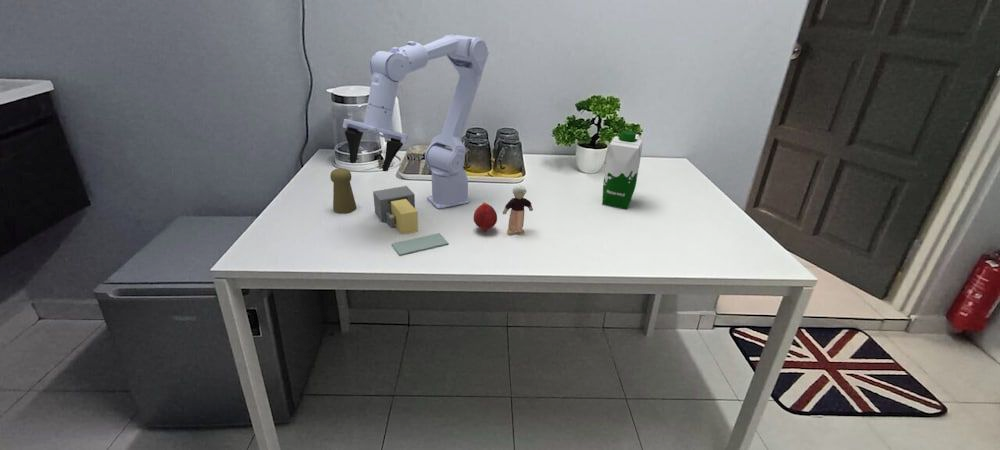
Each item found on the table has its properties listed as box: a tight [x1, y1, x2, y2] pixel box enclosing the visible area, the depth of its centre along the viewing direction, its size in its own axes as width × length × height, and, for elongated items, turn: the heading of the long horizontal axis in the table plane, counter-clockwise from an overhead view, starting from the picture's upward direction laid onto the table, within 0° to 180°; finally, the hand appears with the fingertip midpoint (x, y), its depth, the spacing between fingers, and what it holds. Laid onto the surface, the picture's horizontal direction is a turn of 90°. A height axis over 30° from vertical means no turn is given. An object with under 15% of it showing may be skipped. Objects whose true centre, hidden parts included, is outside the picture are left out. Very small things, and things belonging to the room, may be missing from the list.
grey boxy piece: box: [372, 185, 416, 228], centre depth 126 cm, size 9×10×6 cm
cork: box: [329, 167, 358, 215], centre depth 128 cm, size 6×6×11 cm
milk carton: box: [601, 130, 643, 210], centre depth 135 cm, size 9×9×20 cm
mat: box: [391, 232, 450, 257], centre depth 115 cm, size 12×6×1 cm, turn 119°
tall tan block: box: [391, 199, 419, 235], centre depth 122 cm, size 4×8×6 cm, turn 29°
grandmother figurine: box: [502, 184, 534, 236], centre depth 119 cm, size 8×4×13 cm, turn 117°
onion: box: [473, 200, 498, 232], centre depth 120 cm, size 6×6×8 cm
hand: (368, 166), depth 111 cm, fingers open, 7 cm apart
